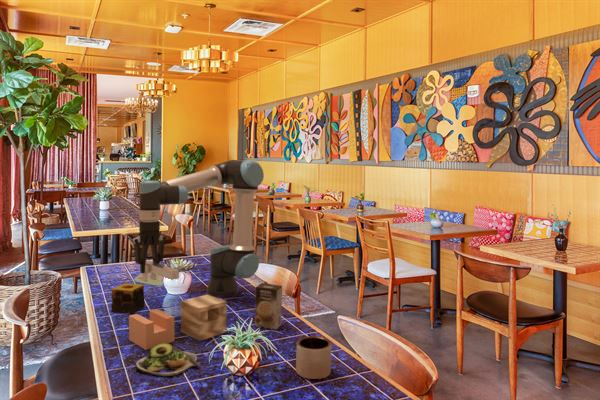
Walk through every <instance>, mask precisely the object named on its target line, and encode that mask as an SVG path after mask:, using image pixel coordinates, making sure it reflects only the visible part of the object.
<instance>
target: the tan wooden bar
mask: <svg viewBox="0 0 600 400" xmlns="http://www.w3.org/2000/svg"><path fill="white" fill-rule="evenodd" d="M146 265H147V271H148V272H147V273H150V272H151V273H154V274H157V275H159V276H162V277H165V278H168V279H171V280H172V281H173V280H179V279H180V270H179V269H176V268H173V267H170V266H166V265H163V264H161V263H159V264H157V263H154V262H153V261H151V260H146Z"/></svg>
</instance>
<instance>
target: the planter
mask: <svg viewBox="0 0 600 400" xmlns="http://www.w3.org/2000/svg"><path fill="white" fill-rule="evenodd" d="M295 354H296V358H295V360H296V361H295V372H296V374H297V375H299V376H300V377H302V378H303V379H306V378H307V379H306V380H310V379H319V380H323V379H326V378H327V377H329V376H330V375H331V372H332V342H331V340H330V339H328V338H326V337H323V336H318V335H314V336H313V335H311V336H304V337H301V338H299V339H298V340H297V341H296V353H295ZM322 378H323V379H322Z"/></svg>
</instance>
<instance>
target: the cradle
mask: <svg viewBox="0 0 600 400" xmlns="http://www.w3.org/2000/svg"><path fill="white" fill-rule="evenodd" d="M128 332H129V333H128V339H129V341H131V342H132V343H133V344H135V345H137V346H138V347H140V348H142V349H143V350H145V351H147V350H151V348H153V347H154V346H156V345H158V344H161V343H168V344H170V343H174V342H175V338H176V337H175V335H176V334H175V316H174V315H172V314H170V313H167V312H165V311H163V310H161V309H159V308H155V309H150V310H149V318H146V317H145V316H142V315H140V314H138V313H135V314H134V313H133V314H130V315H128Z"/></svg>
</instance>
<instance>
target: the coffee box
mask: <svg viewBox="0 0 600 400" xmlns="http://www.w3.org/2000/svg"><path fill="white" fill-rule="evenodd" d="M282 298H283V285H280V284H279V285H278V284H271V283H266V282H264V283H263V282H261V283H260V284H258V285H257V286H256V287H255V311H254V312H255V317H254V320H255V321H254V327H255V326H256V328H261V327H264V328H263V329H267V328H270V329H269V330H273V329H276V330H277V329H279V327H280V326H282V305H283V302H282V301H283V300H282Z"/></svg>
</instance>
